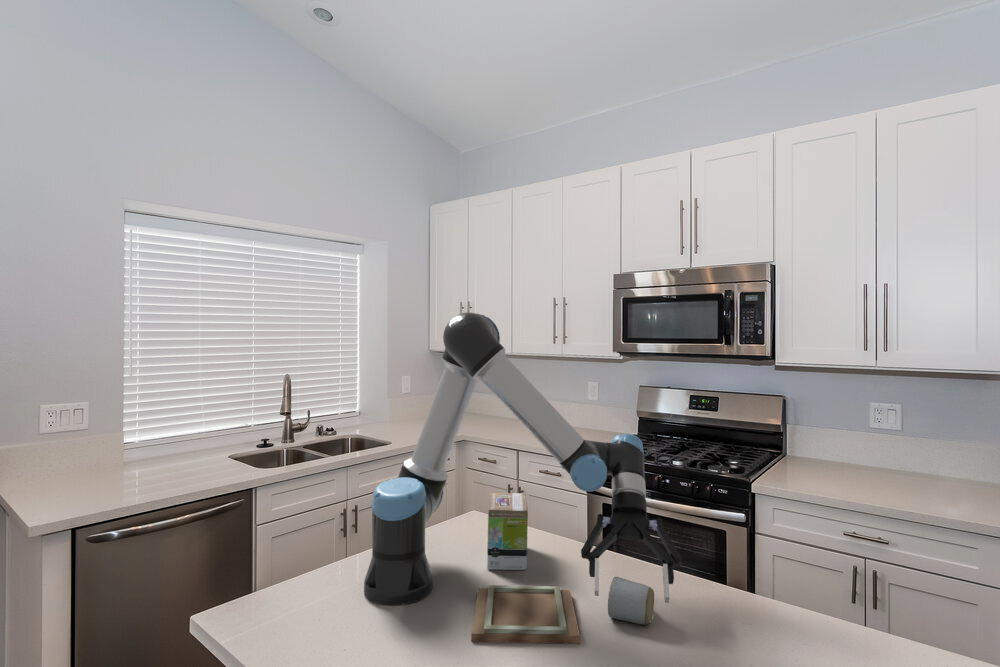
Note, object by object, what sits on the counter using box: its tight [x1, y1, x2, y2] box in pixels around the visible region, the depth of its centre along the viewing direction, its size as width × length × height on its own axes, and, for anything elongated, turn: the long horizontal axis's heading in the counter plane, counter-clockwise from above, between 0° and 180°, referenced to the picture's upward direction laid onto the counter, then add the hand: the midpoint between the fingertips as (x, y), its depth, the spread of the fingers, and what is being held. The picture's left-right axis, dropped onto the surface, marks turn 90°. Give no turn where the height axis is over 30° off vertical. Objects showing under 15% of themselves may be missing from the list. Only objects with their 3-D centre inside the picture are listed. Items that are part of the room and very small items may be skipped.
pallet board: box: [470, 584, 581, 645], centre depth 109 cm, size 20×18×2 cm
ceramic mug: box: [607, 576, 655, 626], centre depth 110 cm, size 11×8×8 cm
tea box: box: [486, 492, 529, 571], centre depth 138 cm, size 15×10×15 cm
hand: (631, 596), depth 107 cm, fingers open, 13 cm apart
